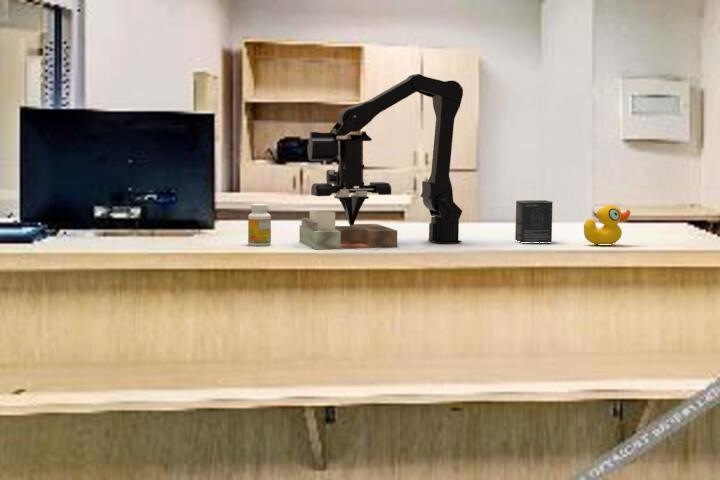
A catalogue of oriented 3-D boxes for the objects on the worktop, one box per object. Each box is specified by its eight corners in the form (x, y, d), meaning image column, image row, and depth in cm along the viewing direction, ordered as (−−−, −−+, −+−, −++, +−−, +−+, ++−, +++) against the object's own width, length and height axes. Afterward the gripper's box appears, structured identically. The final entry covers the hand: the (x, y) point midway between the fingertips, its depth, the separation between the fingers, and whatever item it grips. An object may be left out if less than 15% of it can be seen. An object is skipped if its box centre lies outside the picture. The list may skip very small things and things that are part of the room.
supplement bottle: (244, 244, 225) (244, 203, 224) (265, 243, 228) (265, 203, 226) (253, 246, 220) (253, 205, 219) (274, 245, 223) (274, 204, 222)
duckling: (624, 244, 234) (626, 204, 233) (632, 246, 229) (634, 206, 228) (580, 244, 233) (581, 204, 232) (587, 246, 228) (588, 205, 227)
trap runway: (376, 239, 238) (376, 215, 237) (397, 247, 223) (397, 222, 222) (299, 241, 232) (299, 217, 231) (315, 249, 217) (315, 223, 216)
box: (544, 241, 239) (545, 199, 237) (551, 244, 233) (553, 201, 232) (514, 241, 237) (515, 199, 236) (521, 244, 232) (523, 201, 231)
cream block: (329, 227, 228) (329, 210, 227) (335, 229, 223) (335, 212, 223) (309, 227, 226) (309, 210, 226) (314, 229, 222) (314, 212, 221)
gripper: (377, 158, 235) (377, 220, 237) (305, 159, 230) (305, 222, 232) (392, 160, 225) (391, 224, 227) (316, 161, 219) (317, 227, 221)
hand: (351, 224), depth 227 cm, fingers closed
